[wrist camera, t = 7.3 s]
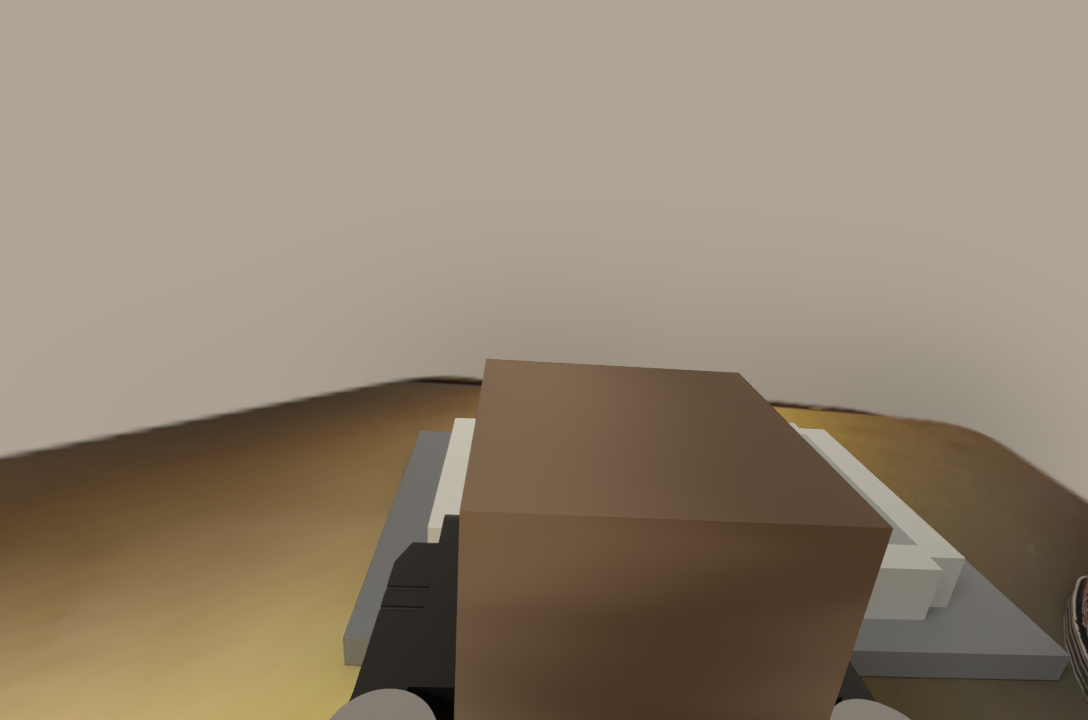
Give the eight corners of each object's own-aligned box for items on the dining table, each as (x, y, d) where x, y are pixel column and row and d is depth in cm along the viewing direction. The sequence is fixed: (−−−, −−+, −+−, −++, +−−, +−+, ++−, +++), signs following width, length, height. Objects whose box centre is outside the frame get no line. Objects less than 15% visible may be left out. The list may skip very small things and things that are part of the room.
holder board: (344, 664, 17) (339, 581, 16) (420, 448, 29) (420, 393, 28) (1058, 680, 18) (1096, 604, 17) (840, 466, 30) (854, 415, 29)
